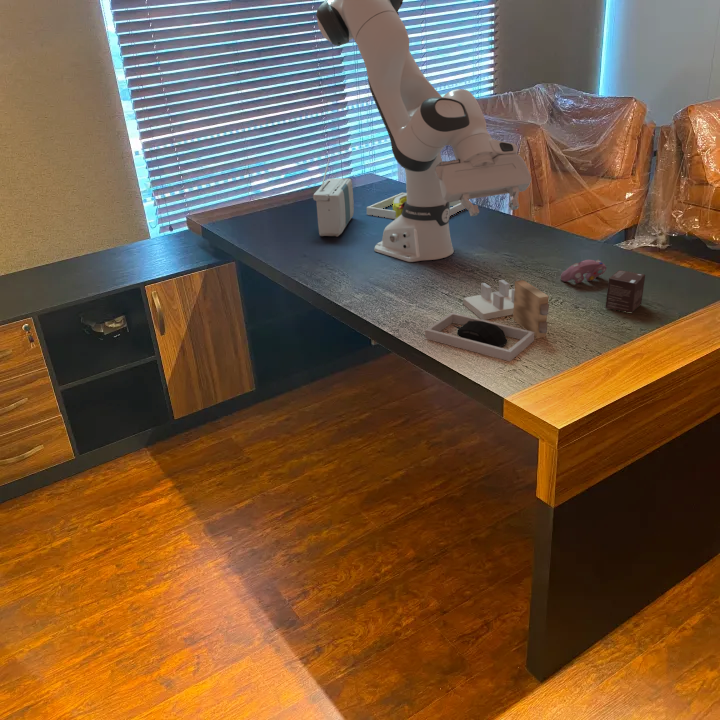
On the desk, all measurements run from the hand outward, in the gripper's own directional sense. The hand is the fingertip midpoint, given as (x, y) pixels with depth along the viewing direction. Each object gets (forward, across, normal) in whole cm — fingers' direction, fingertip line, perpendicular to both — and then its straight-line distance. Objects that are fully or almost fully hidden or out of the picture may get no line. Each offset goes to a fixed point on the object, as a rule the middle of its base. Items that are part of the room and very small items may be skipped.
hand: (495, 211), depth 153 cm
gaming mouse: (+26, -11, +6) cm, 28 cm away
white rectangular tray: (-41, +11, +71) cm, 82 cm away
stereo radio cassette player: (-37, -18, +68) cm, 79 cm away
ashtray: (-40, +11, +71) cm, 82 cm away
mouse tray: (+26, -11, +4) cm, 29 cm away
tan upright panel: (+26, +1, +5) cm, 26 cm away
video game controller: (+13, +26, +18) cm, 34 cm away
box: (+25, +25, +6) cm, 36 cm away
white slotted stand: (+17, +1, +14) cm, 22 cm away
